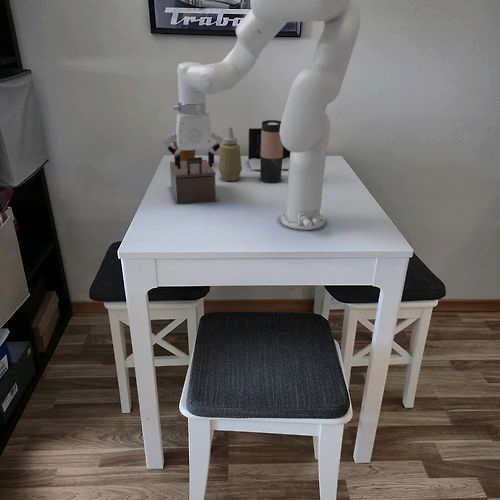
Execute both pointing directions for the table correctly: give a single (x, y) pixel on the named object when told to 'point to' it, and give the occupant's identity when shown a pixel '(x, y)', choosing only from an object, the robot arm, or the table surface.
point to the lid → (192, 168)
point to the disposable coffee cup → (184, 152)
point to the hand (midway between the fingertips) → (194, 167)
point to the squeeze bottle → (230, 158)
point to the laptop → (255, 150)
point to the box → (193, 188)
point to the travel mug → (271, 151)
